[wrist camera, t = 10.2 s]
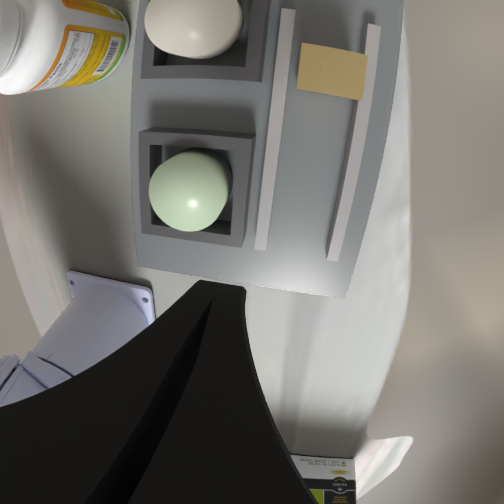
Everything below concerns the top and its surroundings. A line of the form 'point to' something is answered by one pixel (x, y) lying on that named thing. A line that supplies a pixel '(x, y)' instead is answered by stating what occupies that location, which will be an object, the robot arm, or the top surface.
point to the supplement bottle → (58, 43)
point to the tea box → (328, 478)
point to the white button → (194, 26)
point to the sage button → (191, 189)
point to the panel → (268, 144)
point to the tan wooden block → (331, 71)
